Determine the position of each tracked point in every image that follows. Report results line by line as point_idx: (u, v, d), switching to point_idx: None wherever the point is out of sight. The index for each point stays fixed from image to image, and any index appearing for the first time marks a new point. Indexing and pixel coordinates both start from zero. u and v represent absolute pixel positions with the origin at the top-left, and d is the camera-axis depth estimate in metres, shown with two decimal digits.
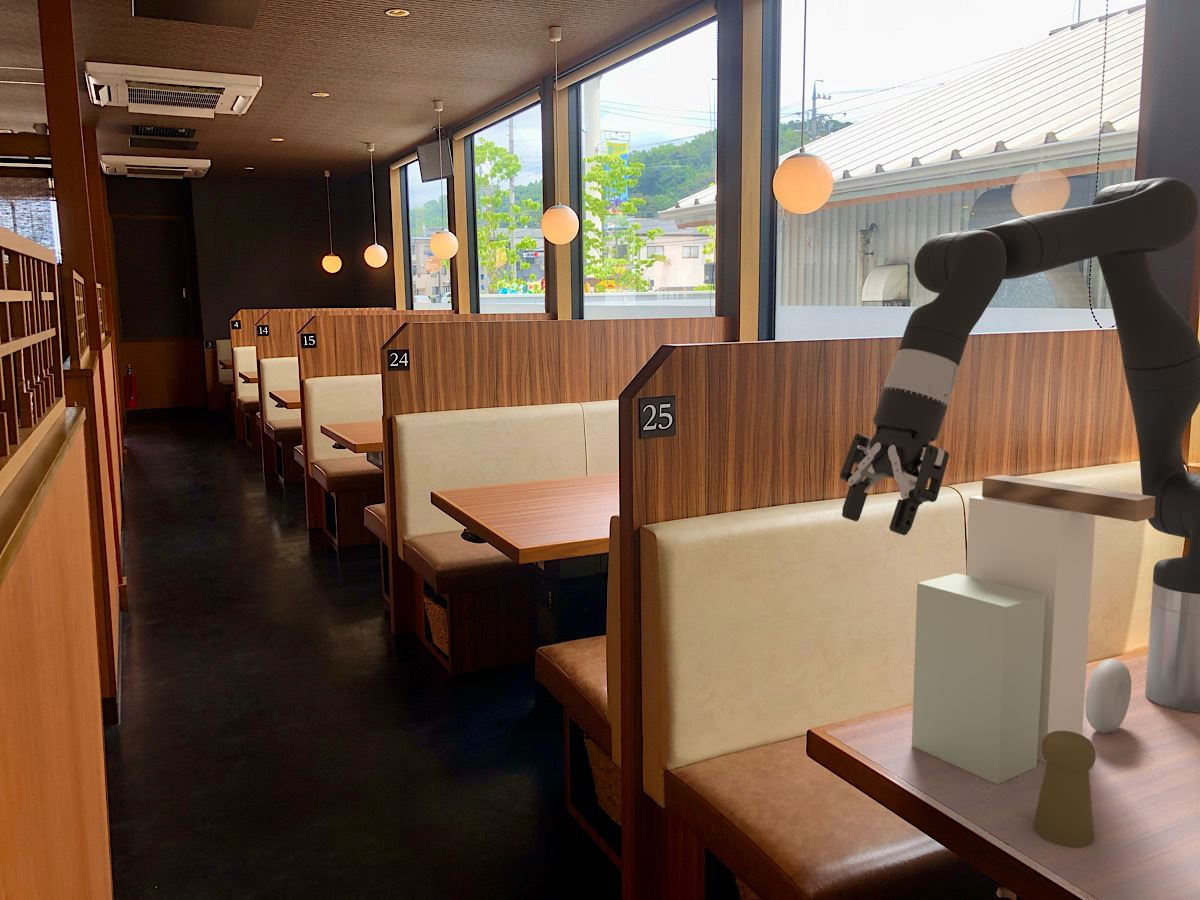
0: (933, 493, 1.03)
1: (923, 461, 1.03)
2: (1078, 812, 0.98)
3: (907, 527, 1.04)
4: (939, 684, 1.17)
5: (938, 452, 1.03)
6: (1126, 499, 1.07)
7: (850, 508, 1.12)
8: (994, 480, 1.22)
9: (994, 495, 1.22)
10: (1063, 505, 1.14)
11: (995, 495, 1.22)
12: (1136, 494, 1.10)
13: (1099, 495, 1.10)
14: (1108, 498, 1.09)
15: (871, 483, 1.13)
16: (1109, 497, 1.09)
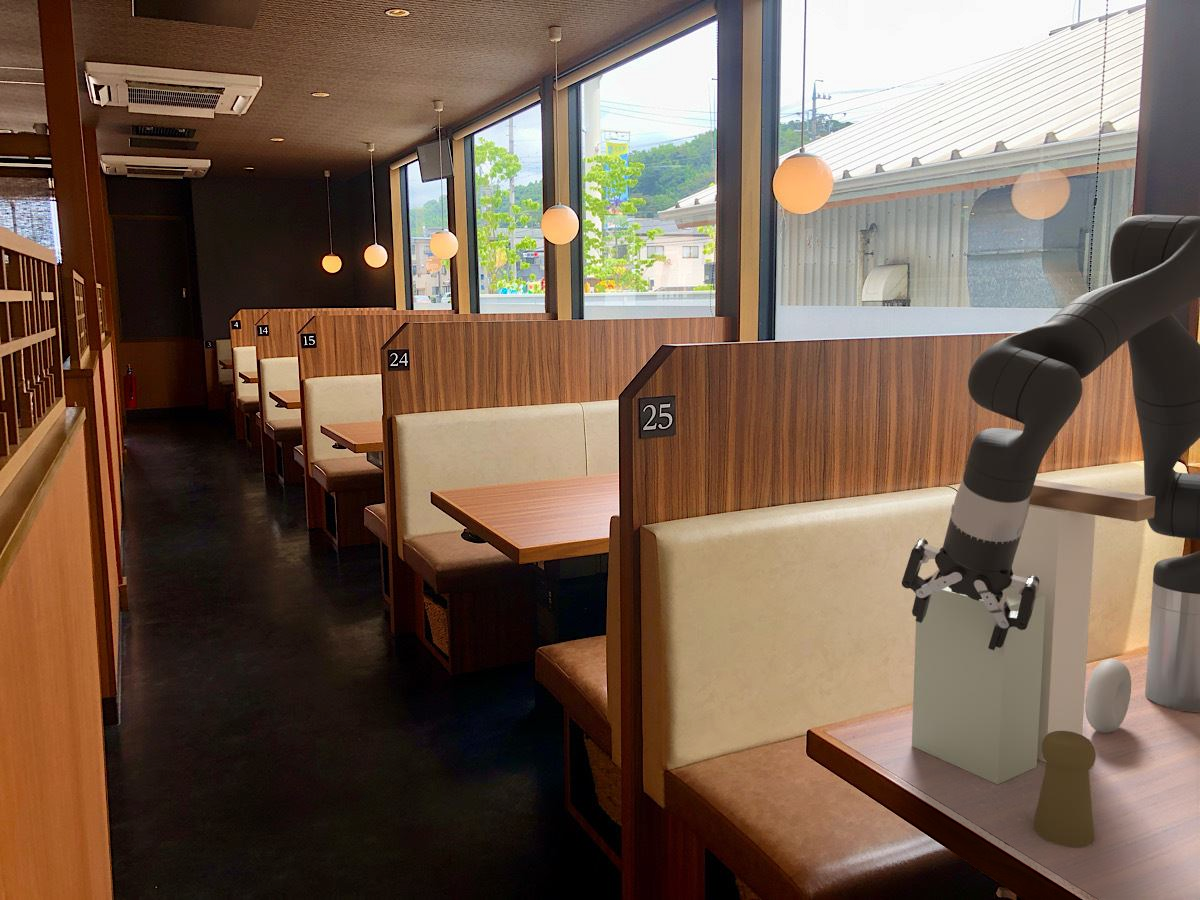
0: None
1: (1022, 600, 1.03)
2: (1078, 812, 0.98)
3: None
4: (939, 684, 1.17)
5: (1036, 589, 1.03)
6: (1126, 499, 1.07)
7: (923, 614, 1.12)
8: None
9: None
10: (1063, 505, 1.14)
11: None
12: (1136, 494, 1.10)
13: (1099, 495, 1.10)
14: (1108, 498, 1.09)
15: None
16: (1109, 497, 1.09)
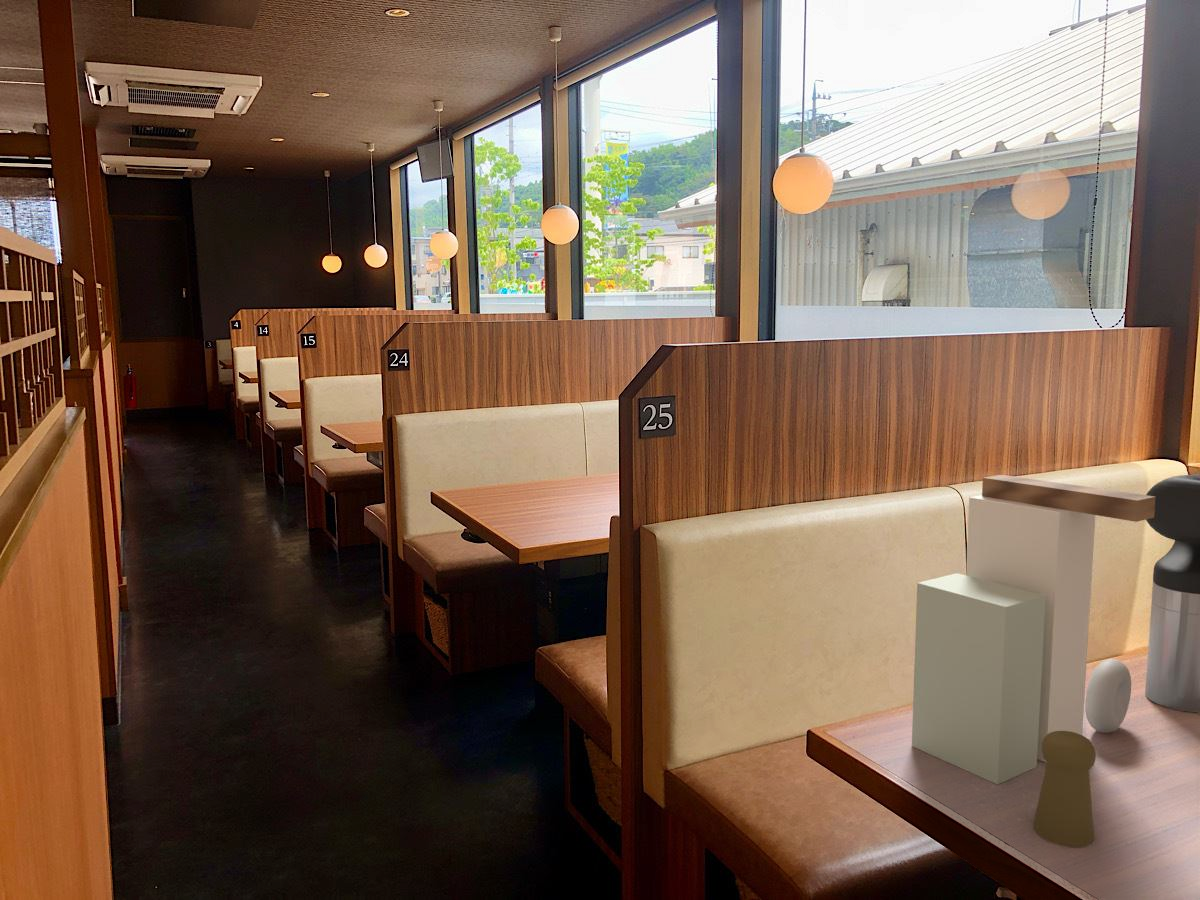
0: None
1: None
2: (1078, 812, 0.98)
3: None
4: (939, 684, 1.17)
5: None
6: (1126, 499, 1.07)
7: None
8: (994, 480, 1.22)
9: (994, 495, 1.22)
10: (1063, 505, 1.14)
11: (995, 495, 1.22)
12: (1136, 494, 1.10)
13: (1099, 495, 1.10)
14: (1108, 498, 1.09)
15: None
16: (1109, 497, 1.09)
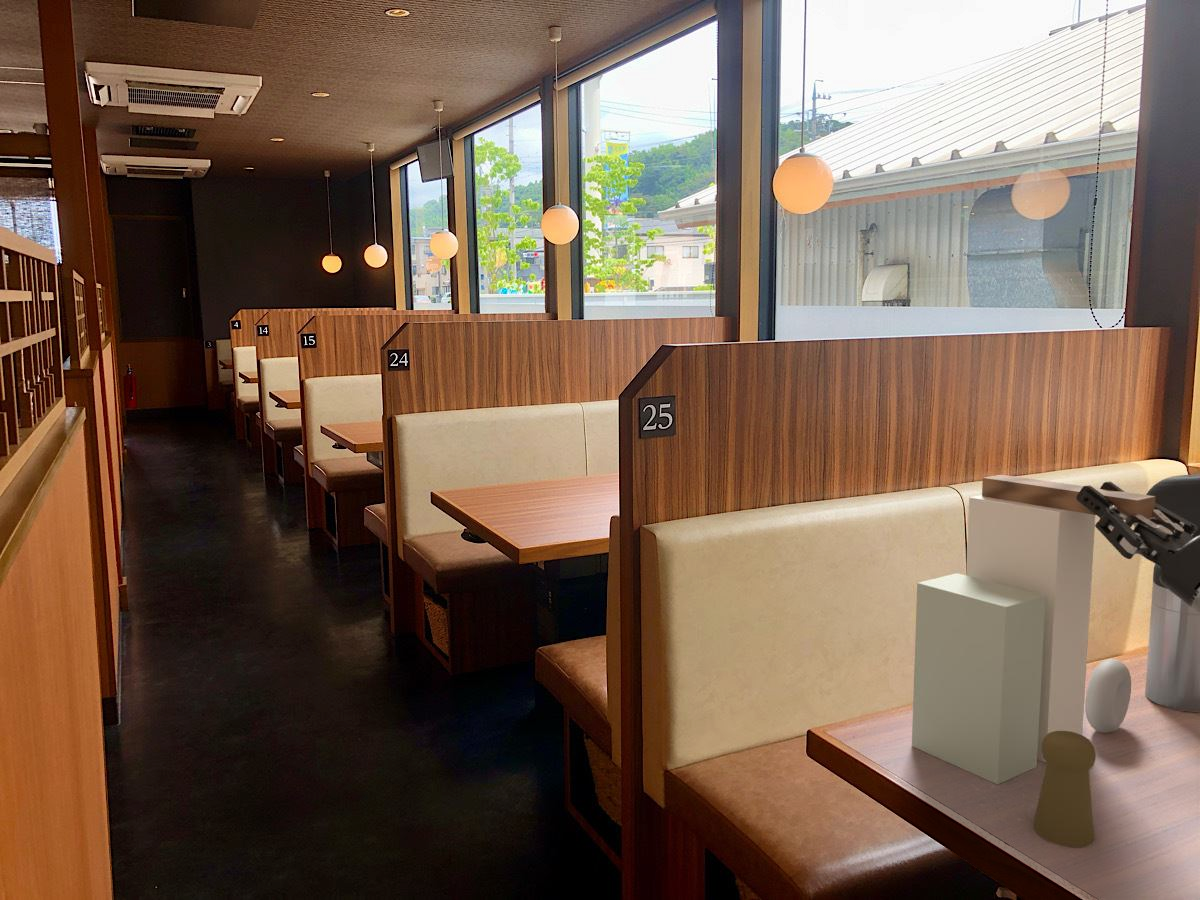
0: None
1: None
2: (1078, 812, 0.98)
3: None
4: (939, 684, 1.17)
5: None
6: (1126, 499, 1.07)
7: None
8: (994, 480, 1.22)
9: (994, 495, 1.22)
10: (1063, 505, 1.14)
11: (995, 495, 1.22)
12: (1136, 494, 1.10)
13: None
14: (1108, 498, 1.09)
15: None
16: (1109, 497, 1.09)
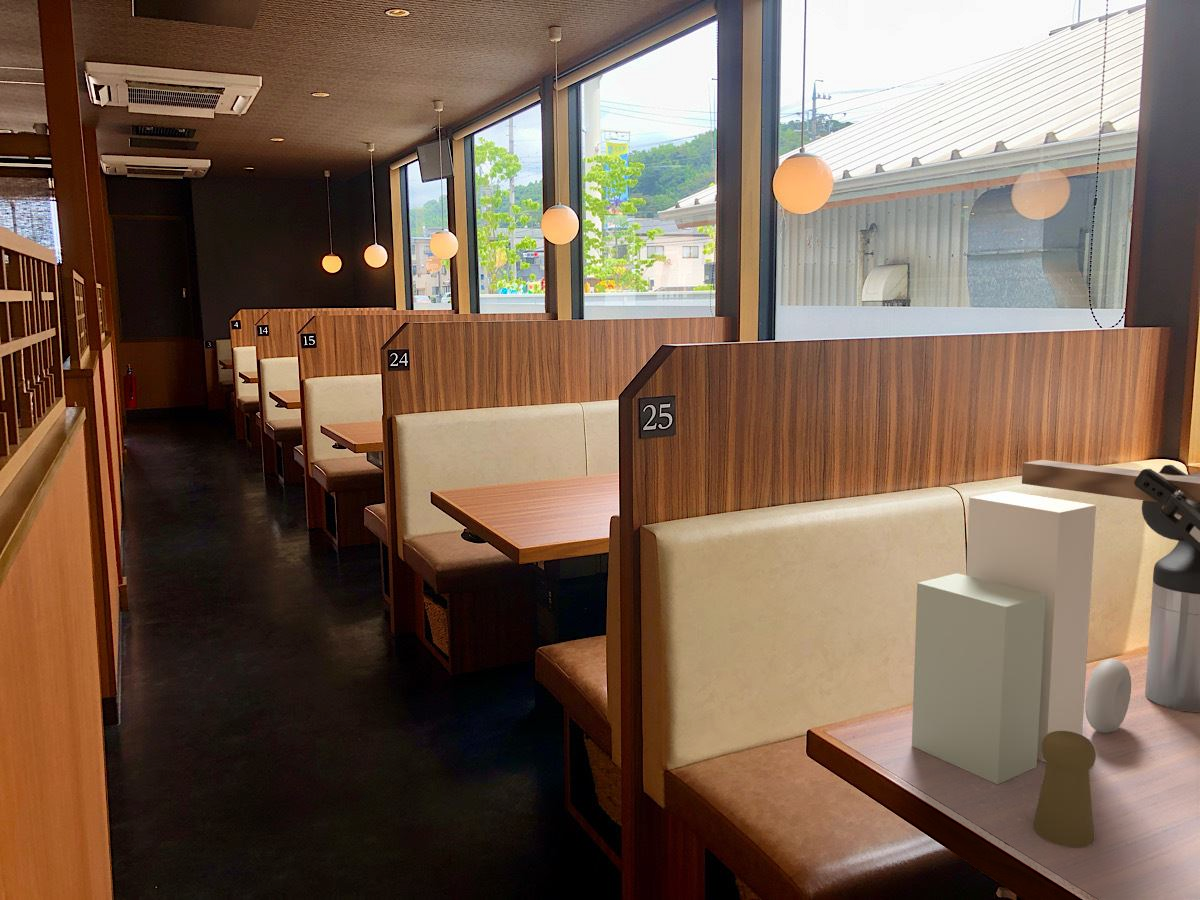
0: None
1: None
2: (1078, 812, 0.98)
3: None
4: (939, 684, 1.17)
5: None
6: (1194, 483, 0.94)
7: None
8: (1036, 465, 1.08)
9: (1036, 483, 1.08)
10: (1118, 491, 1.01)
11: (1037, 482, 1.08)
12: None
13: None
14: (1172, 483, 0.96)
15: None
16: (1173, 481, 0.96)
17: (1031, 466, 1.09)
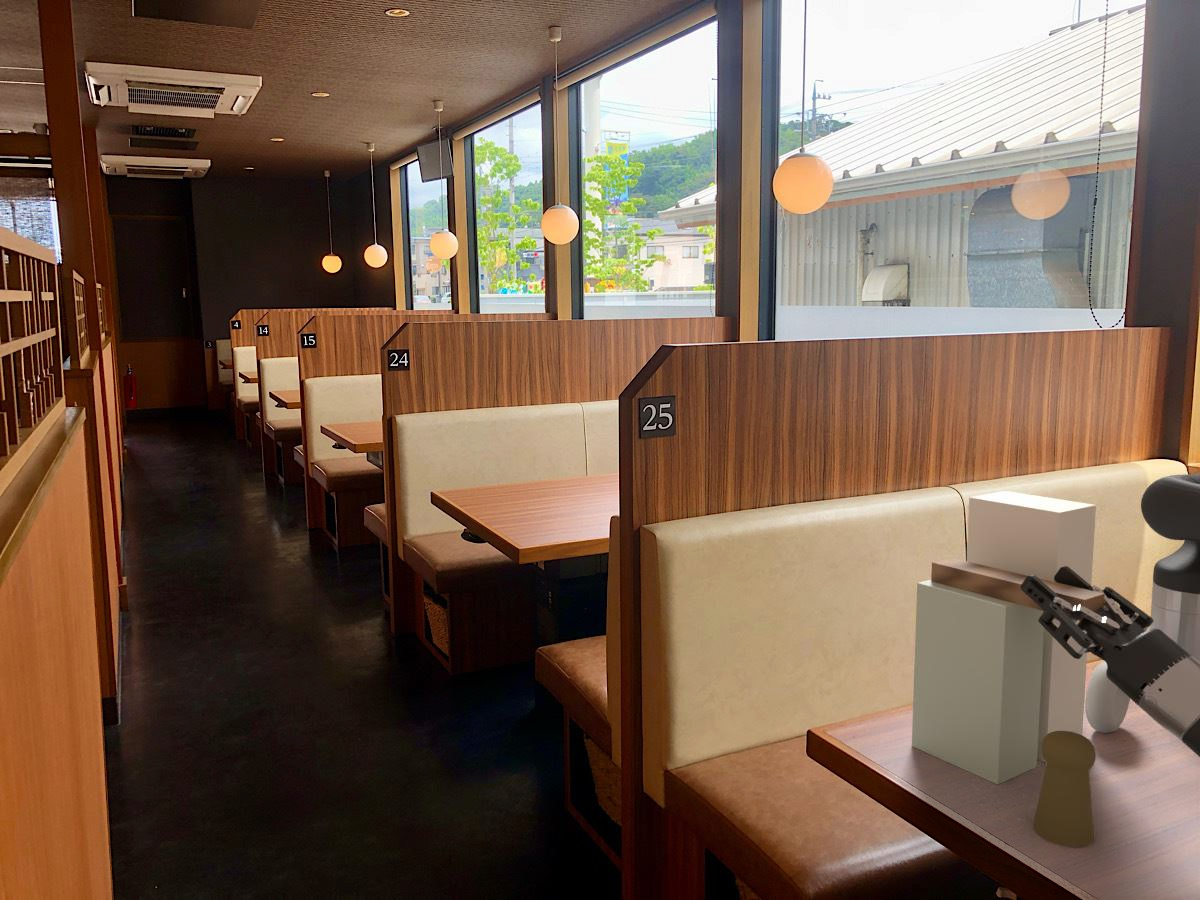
0: None
1: None
2: (1078, 812, 0.98)
3: None
4: (939, 684, 1.17)
5: None
6: (1073, 597, 1.03)
7: None
8: (943, 566, 1.18)
9: (943, 582, 1.18)
10: (1011, 598, 1.10)
11: (944, 581, 1.18)
12: (1085, 590, 1.06)
13: None
14: None
15: None
16: (1057, 594, 1.05)
17: (939, 566, 1.18)
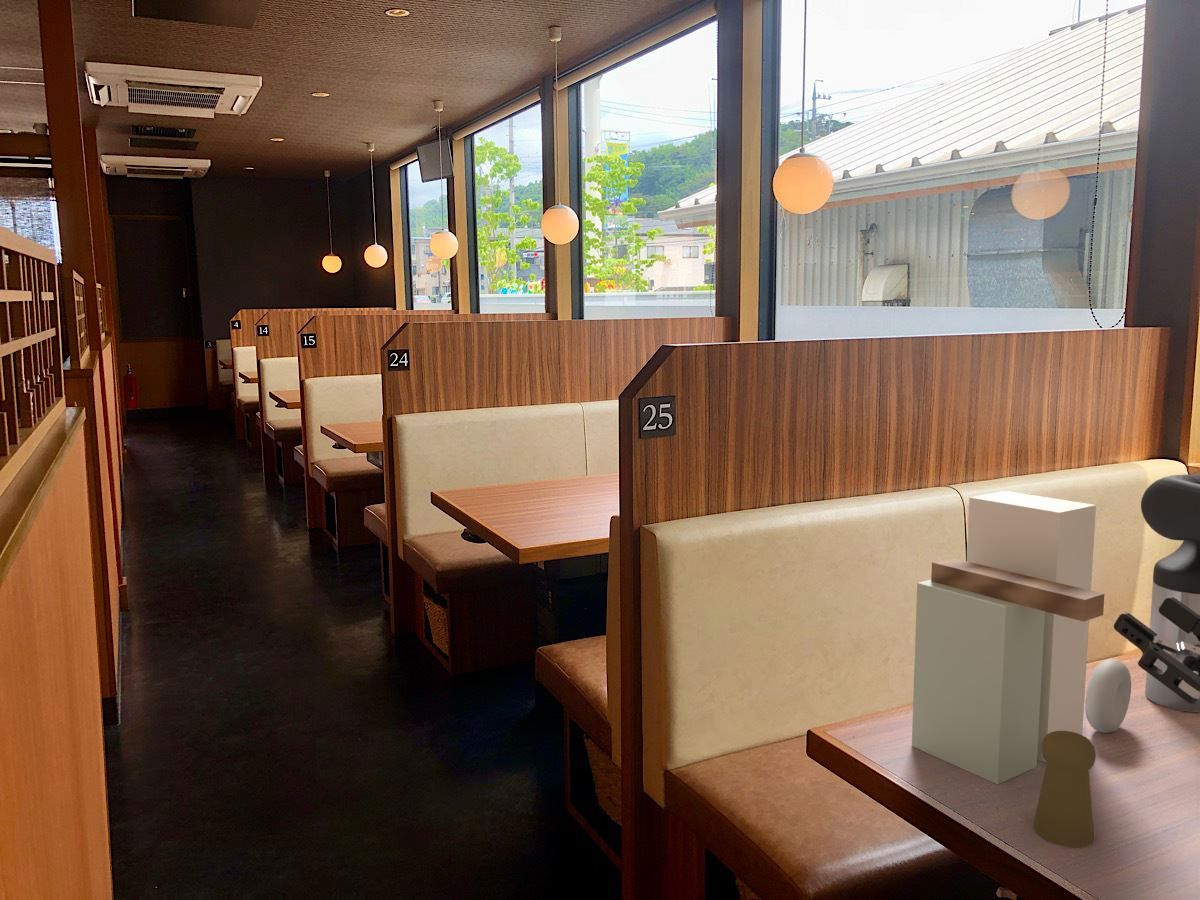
0: None
1: None
2: (1078, 812, 0.98)
3: None
4: (939, 684, 1.17)
5: None
6: (1073, 597, 1.03)
7: None
8: (943, 566, 1.18)
9: (943, 582, 1.18)
10: (1011, 598, 1.10)
11: (944, 581, 1.18)
12: (1085, 590, 1.06)
13: (1047, 591, 1.06)
14: (1056, 595, 1.05)
15: None
16: (1057, 594, 1.05)
17: (939, 566, 1.18)
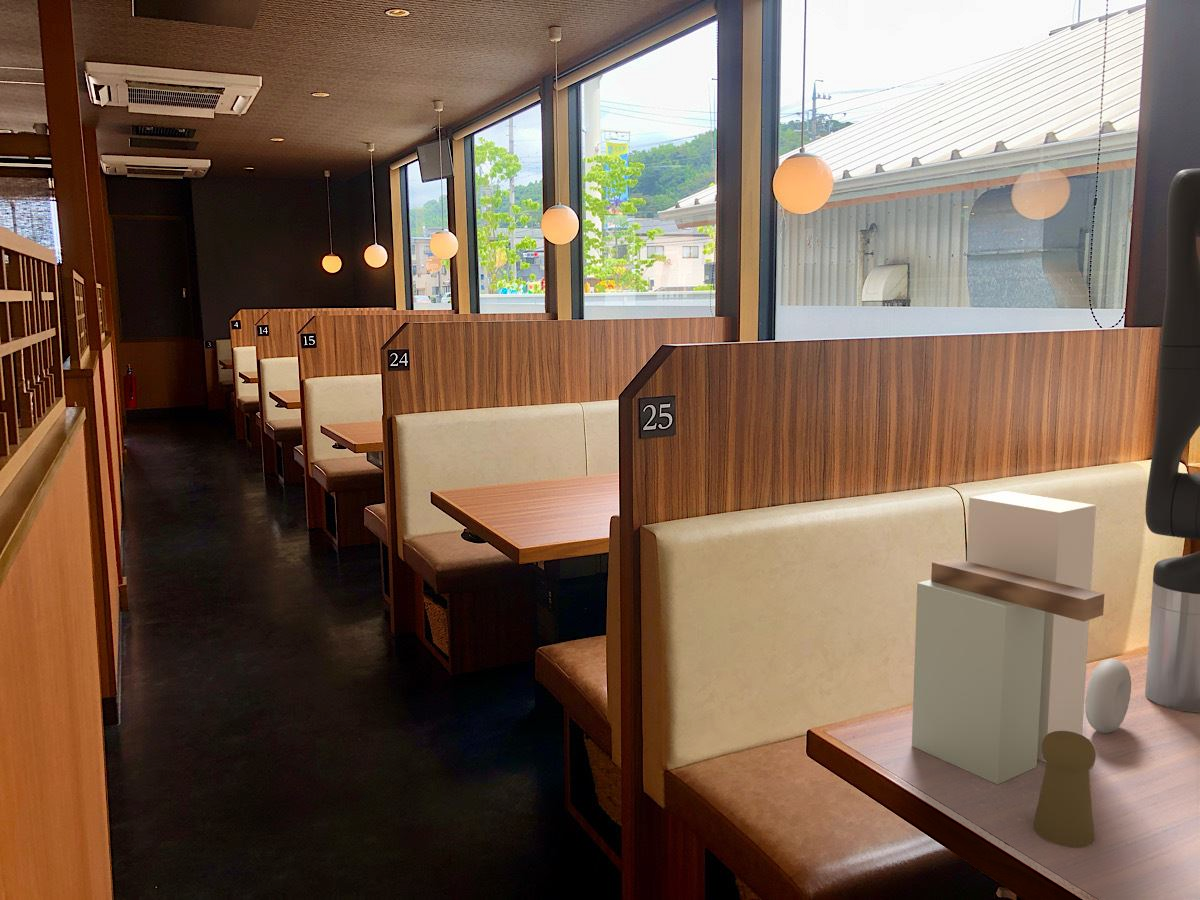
0: None
1: None
2: (1078, 812, 0.98)
3: None
4: (939, 684, 1.17)
5: None
6: (1073, 597, 1.03)
7: None
8: (943, 566, 1.18)
9: (943, 582, 1.18)
10: (1011, 598, 1.10)
11: (944, 581, 1.18)
12: (1085, 590, 1.06)
13: (1047, 591, 1.06)
14: (1056, 595, 1.05)
15: None
16: (1057, 594, 1.05)
17: (939, 566, 1.18)
